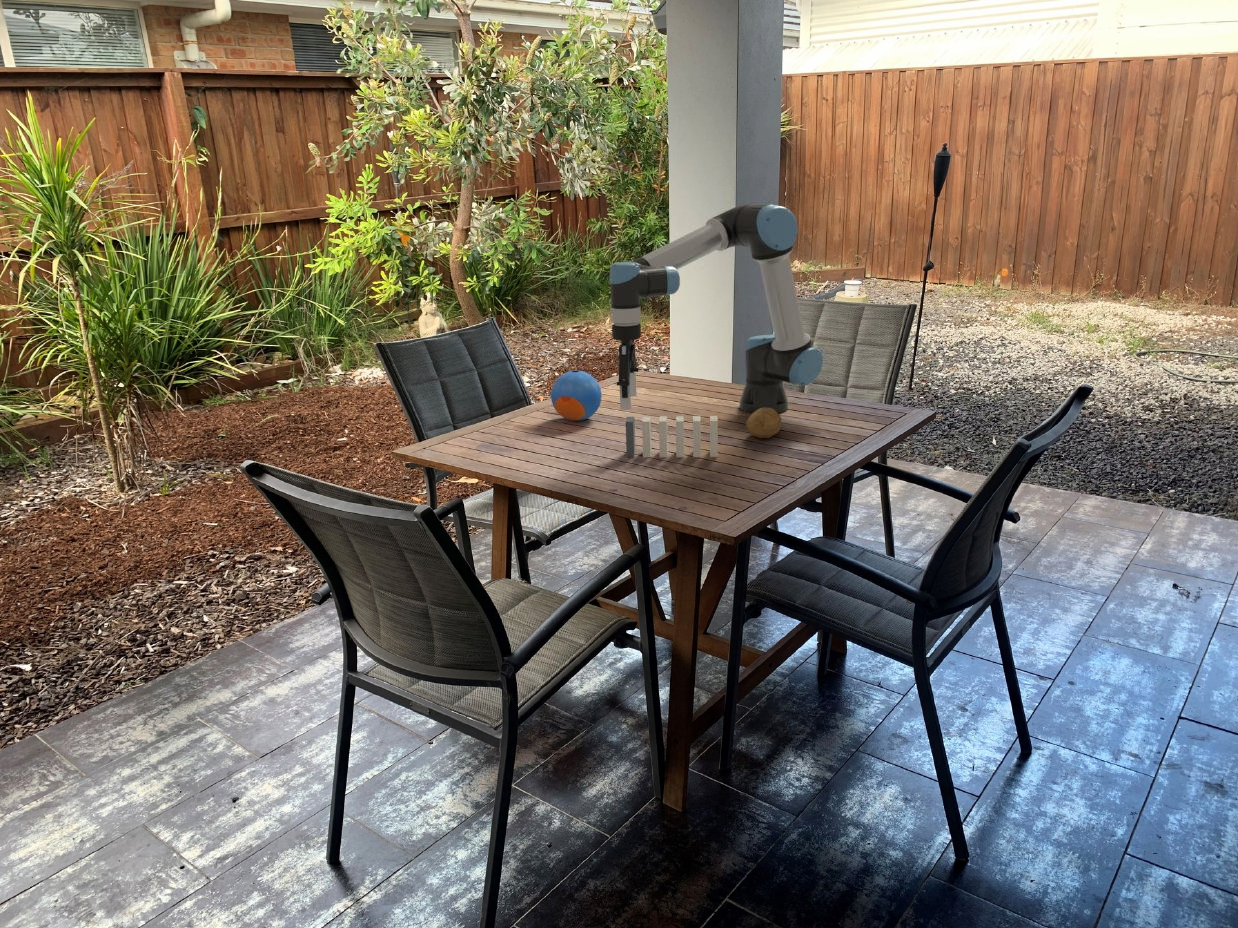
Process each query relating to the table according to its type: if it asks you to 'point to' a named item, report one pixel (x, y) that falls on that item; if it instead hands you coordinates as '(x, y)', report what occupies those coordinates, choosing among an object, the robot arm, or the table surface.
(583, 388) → the treat dispenser ball
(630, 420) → the domino
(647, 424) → the domino
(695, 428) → the domino
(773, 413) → the potato
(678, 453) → the domino
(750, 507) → the table surface
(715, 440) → the domino
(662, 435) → the domino
